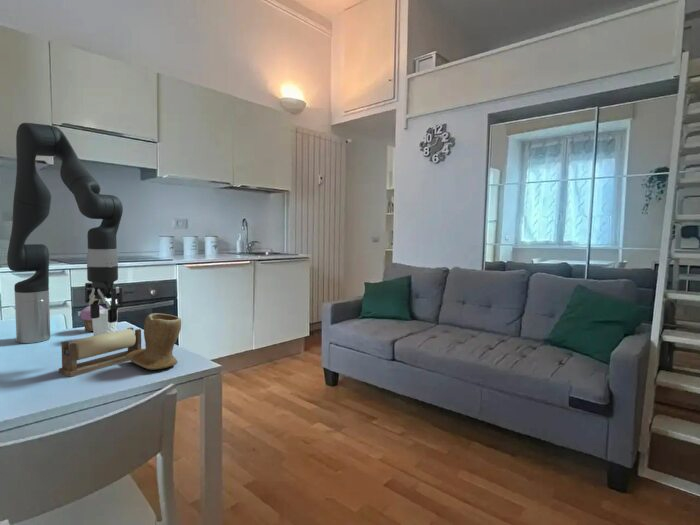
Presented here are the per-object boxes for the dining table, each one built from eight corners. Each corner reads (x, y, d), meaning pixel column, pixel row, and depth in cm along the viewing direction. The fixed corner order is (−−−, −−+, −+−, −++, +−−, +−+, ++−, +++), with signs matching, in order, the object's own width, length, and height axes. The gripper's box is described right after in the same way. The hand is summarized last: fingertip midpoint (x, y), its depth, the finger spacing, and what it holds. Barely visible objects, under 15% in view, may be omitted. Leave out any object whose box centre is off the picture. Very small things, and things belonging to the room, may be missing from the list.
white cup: (106, 342, 137) (105, 314, 137) (86, 340, 139) (85, 312, 138) (123, 336, 145) (122, 309, 144) (104, 335, 147) (104, 308, 146)
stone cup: (188, 365, 117) (188, 315, 116) (147, 376, 108) (146, 321, 107) (164, 354, 127) (164, 307, 126) (124, 363, 118) (123, 313, 116)
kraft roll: (61, 360, 109) (61, 340, 108) (129, 343, 126) (130, 326, 125) (72, 364, 106) (72, 344, 106) (141, 346, 123) (141, 329, 123)
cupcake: (101, 327, 158) (101, 302, 157) (112, 330, 153) (111, 305, 152) (76, 331, 151) (75, 305, 150) (86, 335, 146) (85, 308, 145)
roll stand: (58, 372, 108) (57, 342, 108) (132, 353, 127) (131, 326, 126) (70, 377, 106) (70, 345, 105) (144, 356, 124) (143, 329, 123)
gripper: (74, 263, 114) (76, 319, 115) (104, 267, 107) (105, 326, 109) (101, 262, 121) (102, 314, 122) (130, 265, 114) (131, 321, 115)
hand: (103, 320), depth 115 cm, fingers open, 8 cm apart
